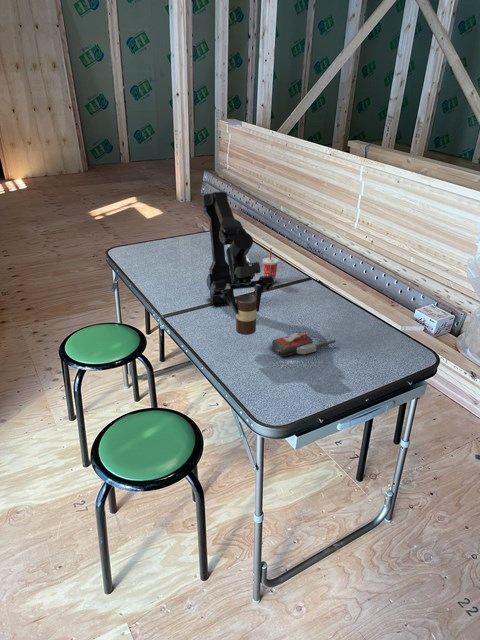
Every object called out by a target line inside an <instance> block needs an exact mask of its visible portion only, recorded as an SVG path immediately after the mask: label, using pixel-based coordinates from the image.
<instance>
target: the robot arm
mask: <svg viewBox="0 0 480 640" xmlns="http://www.w3.org/2000/svg"><path fill="white" fill-rule="evenodd" d="M200 204H201V208H203V213H204V216H206V218H207V219H208V223H209V235H210V245H211V246H210V247H211V257H212V262H211V264H210V266H209V268H208V273H207V277H206V286H207V289H208V290H209V298H208V301H209V302H210V304H211V305H212V306H213V307H222V306H226V305H227V306H228V305H229V306H230V308H231V309H232V310H233V312H234V313H235V315H236V314H238V309H237V305H236V298H235V293H234V291H235V290H241V289H242V290H243V289H252V288H254V291H253V293H252V294H253V295H252V296H255V297H256V298H257V313H259V312H260V306H261V298H262V294H264V292H265V291H270V290H271V289H272V288H273V287H274V285H275V284H276V280H275V281H274V278H273V277H272V276H271V275H270V276H264V275H262V276H260V277H259V278H258V280H254V277H256V274H261V272H262V271H261V265H260V262H259V261H257V262H251V265H250V264H249V263H250V262H248V261H247V258H246V255H247V256H248V254H249V252H250V250H251V248H252V247H253V244H254V238H253V237H252V235H251V234H250V233H248V232H247V230H246V229H245V228H244V227H243V224H242V223H241V221H240V220H238V219H236V218H235V217H234V213H233V211H232V208H231V206H230V203H229V198H228V193H227V192H226V191H213V192H209V193H204V194H203V196H201V197H200ZM228 245H230V247H228ZM225 246H227V249H226V250H225ZM226 259H227V260H226Z"/></svg>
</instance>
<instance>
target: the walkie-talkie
mask: <svg viewBox="0 0 480 640" xmlns="http://www.w3.org/2000/svg"><path fill="white" fill-rule="evenodd" d="M335 343H336V340H335V339H332V340H329V341H326V342H322V343H319V344H317V343H316V344H314V341H313V339H312V338H311V337H310V336H309V335H308V334H305V333H304V332H303V331H299V332H296V333H295V332H294V333H292V334H290V335H287V336H283V337H280V338H275V339H272V341H271V349H272V350H274V351H275V352H276V353H277V355H278V356H280V357H287V356H290V355H294V354H298V355H307V354H311V353H315V352H317V350H318V349H320V348H323V347H326V346H329V345H332V344H335Z"/></svg>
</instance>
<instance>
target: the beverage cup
mask: <svg viewBox="0 0 480 640" xmlns="http://www.w3.org/2000/svg"><path fill="white" fill-rule="evenodd" d="M272 252H273V251H272V247H270V249H269V257H264V258H263V259H262V263H263V264H262V265H263V266H262V267H263V276H270V275H271V276H272V277H273V278H274V281H275V282H276V279H277V271H278V264H279V259H278V258H276V257H272Z"/></svg>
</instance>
